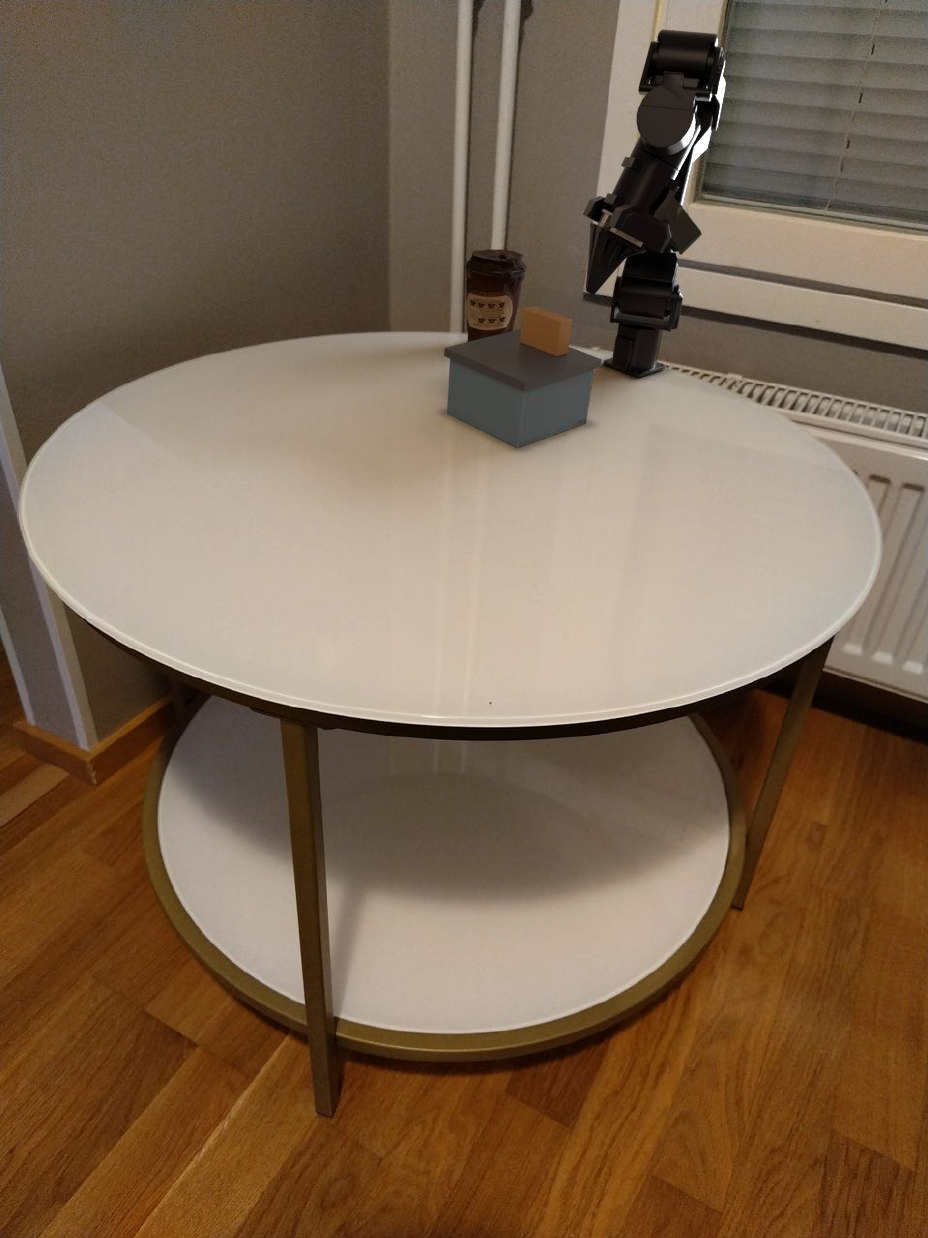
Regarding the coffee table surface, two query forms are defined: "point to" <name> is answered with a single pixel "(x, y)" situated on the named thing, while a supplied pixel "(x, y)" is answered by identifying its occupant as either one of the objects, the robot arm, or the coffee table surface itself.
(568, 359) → the lid
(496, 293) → the coffee cup
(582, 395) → the bin
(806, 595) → the coffee table surface
